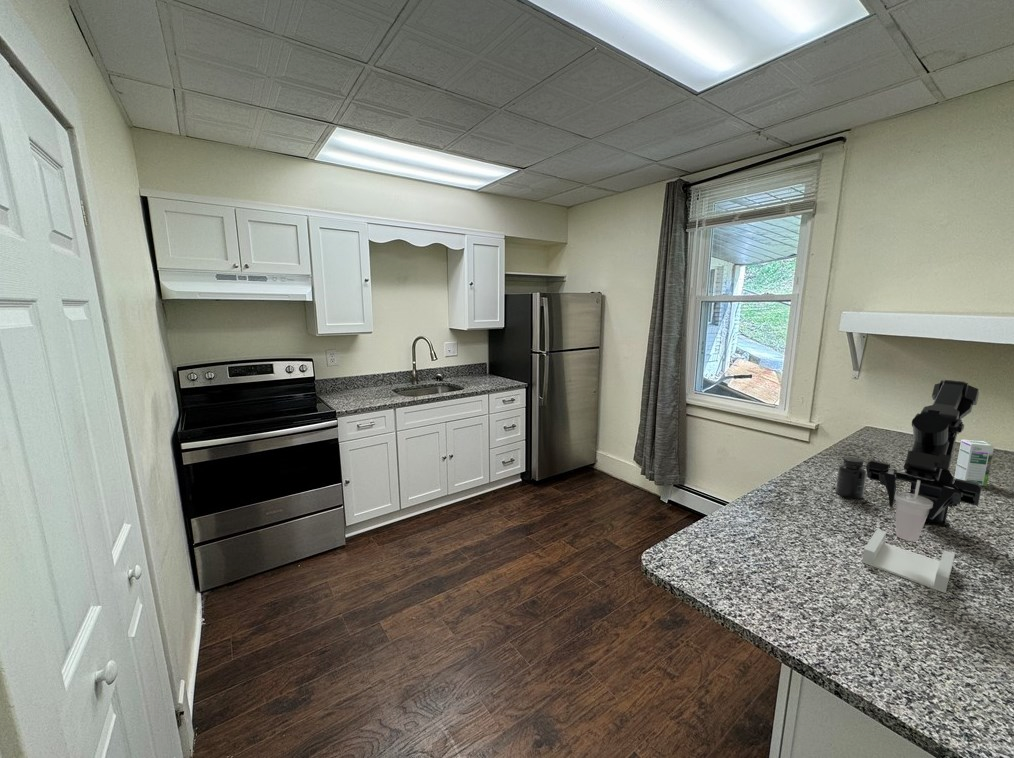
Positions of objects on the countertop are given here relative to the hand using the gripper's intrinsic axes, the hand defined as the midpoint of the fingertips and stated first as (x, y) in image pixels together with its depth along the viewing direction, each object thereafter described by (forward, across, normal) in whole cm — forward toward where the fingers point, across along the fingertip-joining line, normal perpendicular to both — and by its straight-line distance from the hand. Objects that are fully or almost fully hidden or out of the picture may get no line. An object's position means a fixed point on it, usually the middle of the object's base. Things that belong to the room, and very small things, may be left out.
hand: (910, 512), depth 93 cm
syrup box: (-48, +4, +69) cm, 84 cm away
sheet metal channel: (+9, +1, +10) cm, 13 cm away
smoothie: (+4, 0, +6) cm, 7 cm away
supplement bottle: (-16, -18, +36) cm, 43 cm away
